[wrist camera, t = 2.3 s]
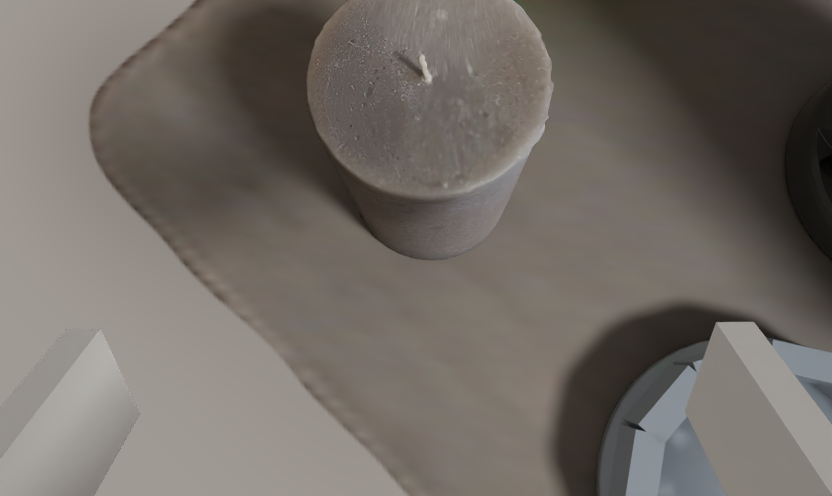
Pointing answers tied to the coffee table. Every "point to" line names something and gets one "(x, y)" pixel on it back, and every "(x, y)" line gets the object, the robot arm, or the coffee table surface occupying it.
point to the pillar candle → (429, 114)
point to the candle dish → (681, 424)
